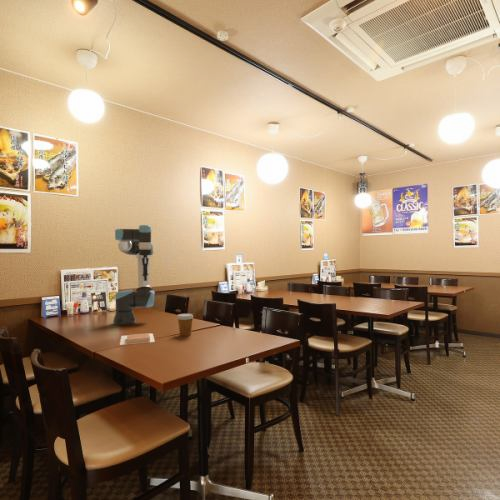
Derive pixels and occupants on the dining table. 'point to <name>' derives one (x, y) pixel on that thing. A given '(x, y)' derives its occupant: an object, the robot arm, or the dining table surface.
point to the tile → (138, 338)
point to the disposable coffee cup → (185, 324)
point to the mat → (124, 342)
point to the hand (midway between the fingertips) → (145, 285)
